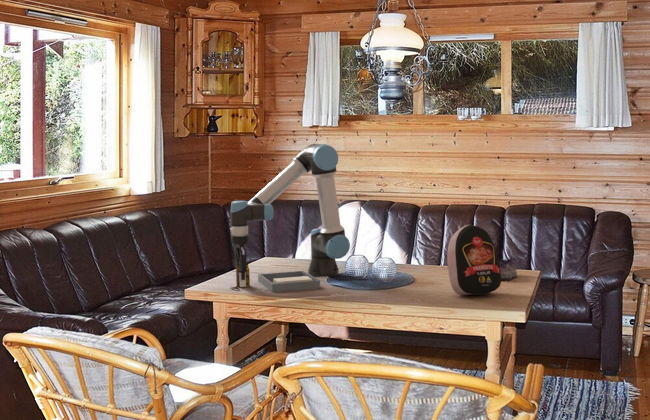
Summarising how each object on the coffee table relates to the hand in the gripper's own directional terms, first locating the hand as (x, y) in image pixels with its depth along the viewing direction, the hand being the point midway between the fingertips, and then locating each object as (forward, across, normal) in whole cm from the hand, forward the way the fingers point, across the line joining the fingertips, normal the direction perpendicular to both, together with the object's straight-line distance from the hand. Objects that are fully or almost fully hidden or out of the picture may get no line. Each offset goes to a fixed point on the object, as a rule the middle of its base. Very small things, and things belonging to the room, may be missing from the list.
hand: (241, 285), depth 400 cm
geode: (+2, +23, +122) cm, 124 cm away
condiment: (+2, 0, 0) cm, 2 cm away
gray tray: (+2, +5, +21) cm, 22 cm away
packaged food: (+2, +51, +91) cm, 104 cm away
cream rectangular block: (+1, +12, +21) cm, 24 cm away
